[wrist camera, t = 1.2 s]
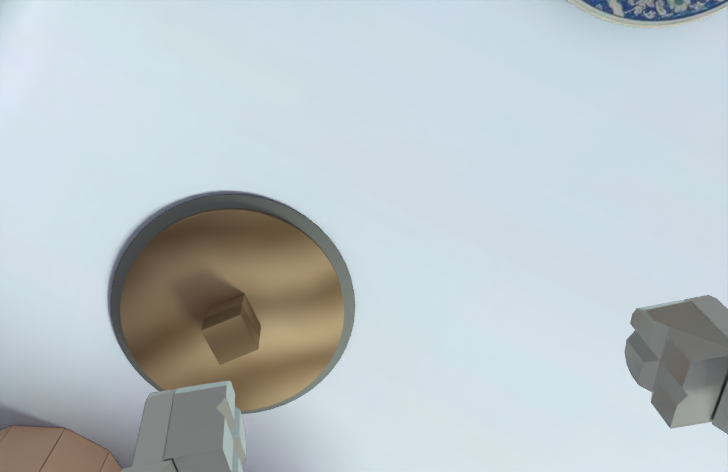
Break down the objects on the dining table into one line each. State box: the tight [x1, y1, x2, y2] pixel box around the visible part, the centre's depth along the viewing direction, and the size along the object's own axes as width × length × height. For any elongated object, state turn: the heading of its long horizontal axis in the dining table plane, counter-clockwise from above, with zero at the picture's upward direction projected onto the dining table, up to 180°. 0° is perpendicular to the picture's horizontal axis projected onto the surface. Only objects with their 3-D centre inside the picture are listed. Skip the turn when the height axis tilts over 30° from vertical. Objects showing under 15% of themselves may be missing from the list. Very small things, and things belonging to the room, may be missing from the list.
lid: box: [120, 208, 344, 411], centre depth 46 cm, size 18×18×5 cm
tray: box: [111, 194, 355, 414], centre depth 49 cm, size 20×20×1 cm
